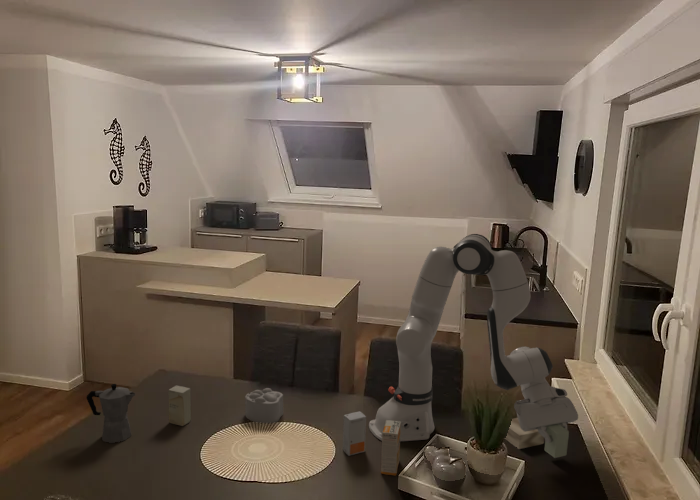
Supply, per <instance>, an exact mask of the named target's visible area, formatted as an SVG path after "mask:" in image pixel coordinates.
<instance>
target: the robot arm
mask: <svg viewBox="0 0 700 500" xmlns="http://www.w3.org/2000/svg"><path fill="white" fill-rule="evenodd" d="M458 272H461V273H463V274H465V275H473V276H474V275H475V276H478V275H479V276H487V278H488V281H489V283H490V288H491V291H492V303H491V306H490V307H489V308H488V309H487V313H486V314H487V315H486V321H487V323H486V324H487V336H488V345H489V346H488V347H489V353H490V356H489V357H490V375H491V379H492V381H493V382H494V384H495V386H496V387H498V388H500V389H503V390H505V391H509V390H511V389H512V390H513V389H514V388H517V387H519V386H520V389H521V393H522V396H523V399H521V400H520V399H519V400H516V401H515V403H514V405H513V408H514V410H515V413H516V418H518V421H519V424H520V427H521V429H522V430H523V431H531V430H536V429H537V430H538V432H539V433H540V434H541V435H542V436H543V437H544V441H545V440H546V442H547V443H550V442H553V438H552V436H551V435H548V433H547V432H546V428H547V426H552V425H557V424H559V425H560V426H562V427H563V428H565V429H566V430H568V424H572V423H574V422H576V421H578V419H579V413H578V411H577V409H576V407H575V406H574V403H573V401H572V400H571V399H570V398H569V397H568V393H567V390H566V389H565V388H564V389H563V388H559V387H555V386H551V385H550V384H549V382H548V381H547V379H546V377H549V375H550V374H551V372H552V370H553V369H554V367H553V362H552V360H551V359H550V356H549V355H548V352H547V351H545V350H544V349H542V348H540V347H537V346H536V347H532V348H531V347H529V346H520V347H517V348H516V349H514V350H512V351H511V352H510V353H509V355H506V351H505V341H504V340H505V339H504V330H505V328H506V327H507V326H508V324H509V323H510V322H511V321H512V320H514V319H515V318H516V317H517V316H519V315H520V314H522V313H523V312H524V310H526V308H527V307H528V306H529V303H530V301H531V299H532V297H531V296H532V295H531V287H530V284H529V281H528V278H527V276H526V275H527V274H526V272H525V269H524V267H523V265H522V263H521V260H520V258H519V256H518V255H517V254H516V253H515V252H514V251H512V250H507V249H504V250H502V249H501V250H499V251H497V250H494V249H493V248H492V244H491V242H490V241H489V239H488V238H487V237H485V236H484V235H483V234H478V233H472V234H468V235H467V236H466V235H465V237H463V238H461V239H460V241H459V242H457V243H456V244H455V245H454V246H453V248H449V247H446V246H436V247H433V248H431V250H430V251H429V253H428V254H427V257H426V258H425V260H424V262H423V265H422V267H421V269H420V271H419V274H418V277H417V281H416V283H415V287H414V290H413V292H412V296H411V302H410V305H409V310H408V313H407V316H406V319H405V321H404V322H403V323H402V325H401V326H400V327H399V328H398V330H397V333H396V338H395V345H396V348H397V356H398V362H399V363H398V364H399V367H398V368H399V371H398V372H399V373H398V385H397V386H396V389H395V388H394V387H393V386H389V388H388V392H389V393H390V394H391V395H393V396H392V397H391V398H390V399H389V400H387V401H386V402H385V403H384V404H382V405H381V406H380V407H379V408H378V409H377V412H376V415H375V419H372V420H370V421H369V423H368V428H369V429H368V430H370V432H371V434H372V435H373V436H374V437H375V438H377V439H379V440H380V441H381V442H382V432H383V429H384V425H385V422H386V420H391V421H400V422H401V433H400V442H409V441H410V442H411V441H421V440H425V441H426V440H428V439H429V438H430V435H431V434H432V433H433V432H434V431H435V423H434V419H433V411H432V402H433V393H434V392H433V391H434V390H433V386H432V385H433V384H432V381H433V363H432V357H431V355H432V354H431V352H432V351H431V348H432V343H433V340H434V339H435V337H436V334H437V331H438V328H439V325H440V322H441V319H442V317H443V312H444V309H445V305H446V303H447V300H448V298H449V295H450V292H451V290H452V287H453V284H454V282H455V281H454V280H455V278H456V275H457V273H458ZM569 438H570V436H569V435H568V439H569Z"/></svg>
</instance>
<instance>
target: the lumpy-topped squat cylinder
mask: <svg viewBox="0 0 700 500" xmlns="http://www.w3.org/2000/svg"><path fill="white" fill-rule="evenodd" d="M244 398H245V402H244V407H245V411H244V412H245V415H244V416H245V418H246V419H248V420H250V421H251V422H254V423H262V424H274V423H277V422H279V421H280V418H281V417H282V416H283V415H284V394H283V393H282V392H280V391H276V390H275V391H274V390H272V388H269V387H266V388H263V389H255V390H253V391H251V392H248V393H246V395H245V396H244Z"/></svg>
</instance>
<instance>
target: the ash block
mask: <svg viewBox="0 0 700 500" xmlns="http://www.w3.org/2000/svg"><path fill="white" fill-rule="evenodd" d="M511 419H512V421H511V425H510V427H509V430H508V433H507V436H506V438H504V439H505V440H506V441H508V442H509V444H511V445H513V447H515V448H516V447H517V448H516V449H518V450H521V449H525V448H526V449H527V448H530V447H535V446H540V445H543V444H544V445H545V438H544V437H543V436H542V435H541V434H540V433H539V432H538V430H537V429H536V430H531V431H523V430H522V429H521V427H520V424H519V421H518V417H514V418H511Z"/></svg>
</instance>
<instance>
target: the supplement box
mask: <svg viewBox="0 0 700 500" xmlns="http://www.w3.org/2000/svg"><path fill="white" fill-rule="evenodd" d="M400 433H401V422H400V421H391V420H386V422H385V425H384V429H383V432H382V441H381V458H380V459H381V463H380V465H381V466H380V473H381V474H382V475H387V476H388V475H389V476H397V473H398V467H399V464H400V453H401V452H400V451H401V441H400Z"/></svg>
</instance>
